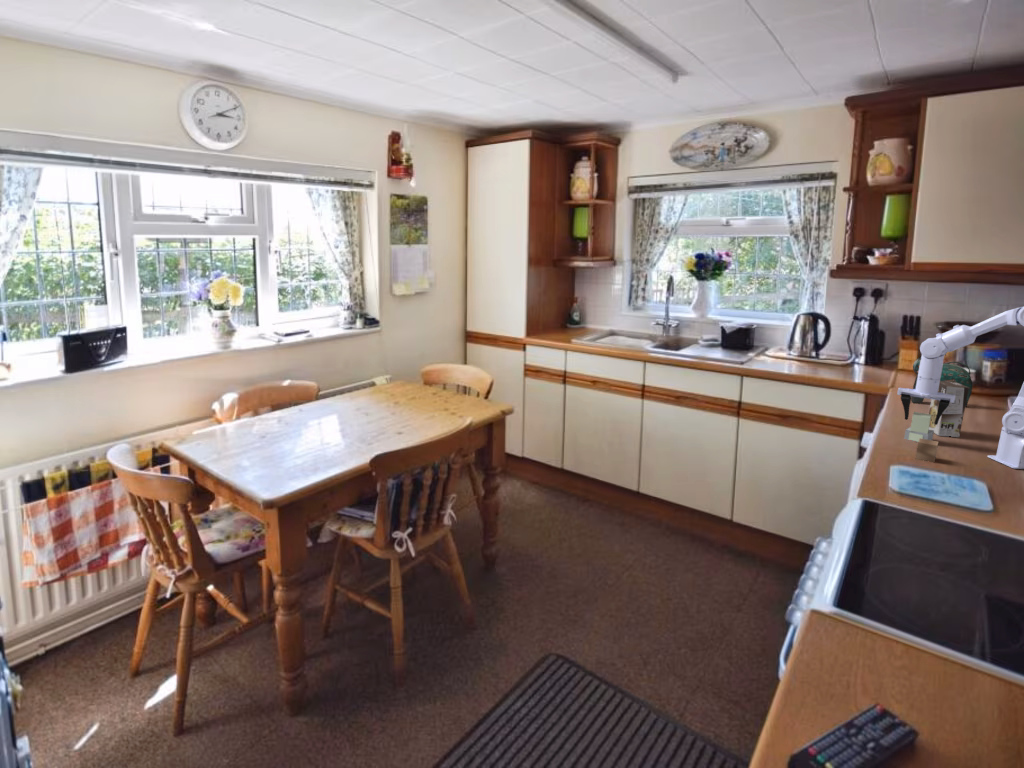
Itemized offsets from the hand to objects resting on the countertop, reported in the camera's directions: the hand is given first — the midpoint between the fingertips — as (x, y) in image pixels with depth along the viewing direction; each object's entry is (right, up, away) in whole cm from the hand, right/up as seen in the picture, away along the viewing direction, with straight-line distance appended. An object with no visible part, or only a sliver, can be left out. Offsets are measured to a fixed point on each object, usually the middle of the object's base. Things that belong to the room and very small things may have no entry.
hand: (921, 421), depth 193 cm
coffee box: (+13, -4, +10) cm, 17 cm away
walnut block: (-8, -10, -15) cm, 19 cm away
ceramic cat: (+35, +4, +46) cm, 58 cm away
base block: (0, -6, +2) cm, 6 cm away
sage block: (0, -3, +1) cm, 3 cm away
